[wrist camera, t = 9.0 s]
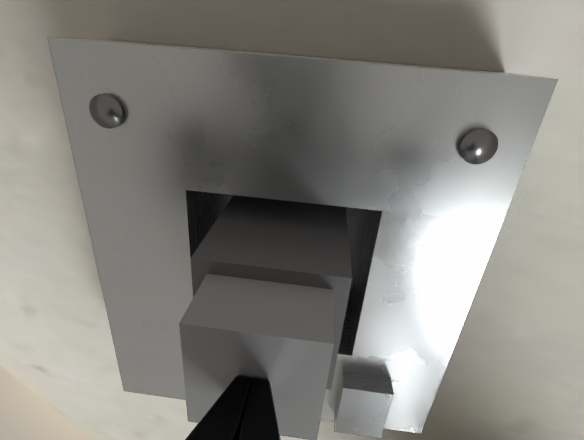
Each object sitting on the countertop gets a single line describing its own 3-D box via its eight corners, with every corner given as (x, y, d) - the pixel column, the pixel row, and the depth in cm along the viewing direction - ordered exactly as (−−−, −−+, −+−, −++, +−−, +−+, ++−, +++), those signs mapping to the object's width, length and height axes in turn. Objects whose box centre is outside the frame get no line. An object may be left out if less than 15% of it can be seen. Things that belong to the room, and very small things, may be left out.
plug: (330, 294, 16) (331, 453, 10) (234, 282, 16) (173, 429, 10) (345, 204, 14) (357, 331, 8) (235, 192, 14) (158, 305, 8)
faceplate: (407, 377, 18) (425, 452, 15) (152, 343, 19) (114, 406, 16) (505, 72, 12) (578, 81, 8) (108, 40, 12) (25, 35, 9)
